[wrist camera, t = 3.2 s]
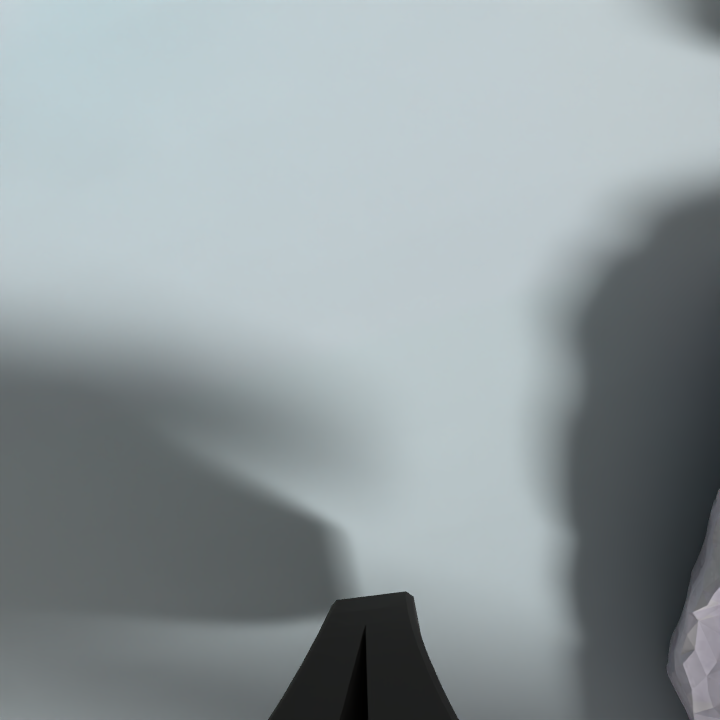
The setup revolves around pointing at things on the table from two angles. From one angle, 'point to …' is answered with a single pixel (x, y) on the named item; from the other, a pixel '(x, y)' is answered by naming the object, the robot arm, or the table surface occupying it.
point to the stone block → (700, 632)
